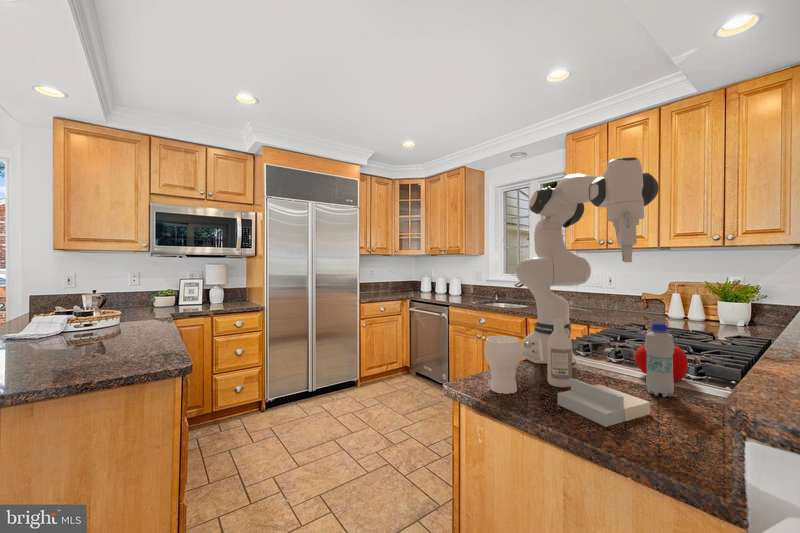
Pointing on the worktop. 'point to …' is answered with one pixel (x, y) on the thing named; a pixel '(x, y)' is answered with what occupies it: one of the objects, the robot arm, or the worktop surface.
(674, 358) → the tomato
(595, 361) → the worktop surface
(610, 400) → the stepped block
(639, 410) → the cream slotted block
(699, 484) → the worktop surface
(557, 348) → the bath foam
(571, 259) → the robot arm
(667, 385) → the bottle
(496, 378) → the cup
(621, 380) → the worktop surface
